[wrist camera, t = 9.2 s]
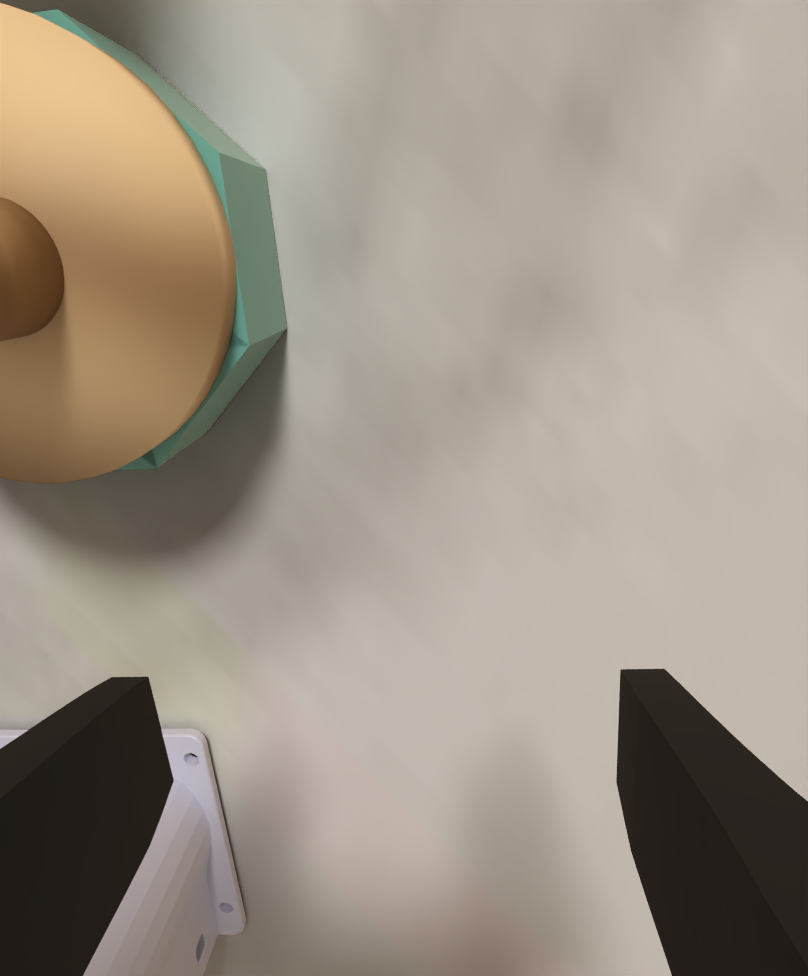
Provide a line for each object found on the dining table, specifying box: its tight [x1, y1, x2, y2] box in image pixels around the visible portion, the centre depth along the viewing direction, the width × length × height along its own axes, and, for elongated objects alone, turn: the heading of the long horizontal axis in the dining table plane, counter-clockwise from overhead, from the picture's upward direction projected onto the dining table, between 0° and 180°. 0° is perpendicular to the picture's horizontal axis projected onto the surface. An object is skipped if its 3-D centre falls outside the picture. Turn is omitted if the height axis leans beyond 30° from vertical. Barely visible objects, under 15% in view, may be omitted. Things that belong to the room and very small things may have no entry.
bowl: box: [32, 9, 287, 471], centre depth 16 cm, size 9×9×3 cm
